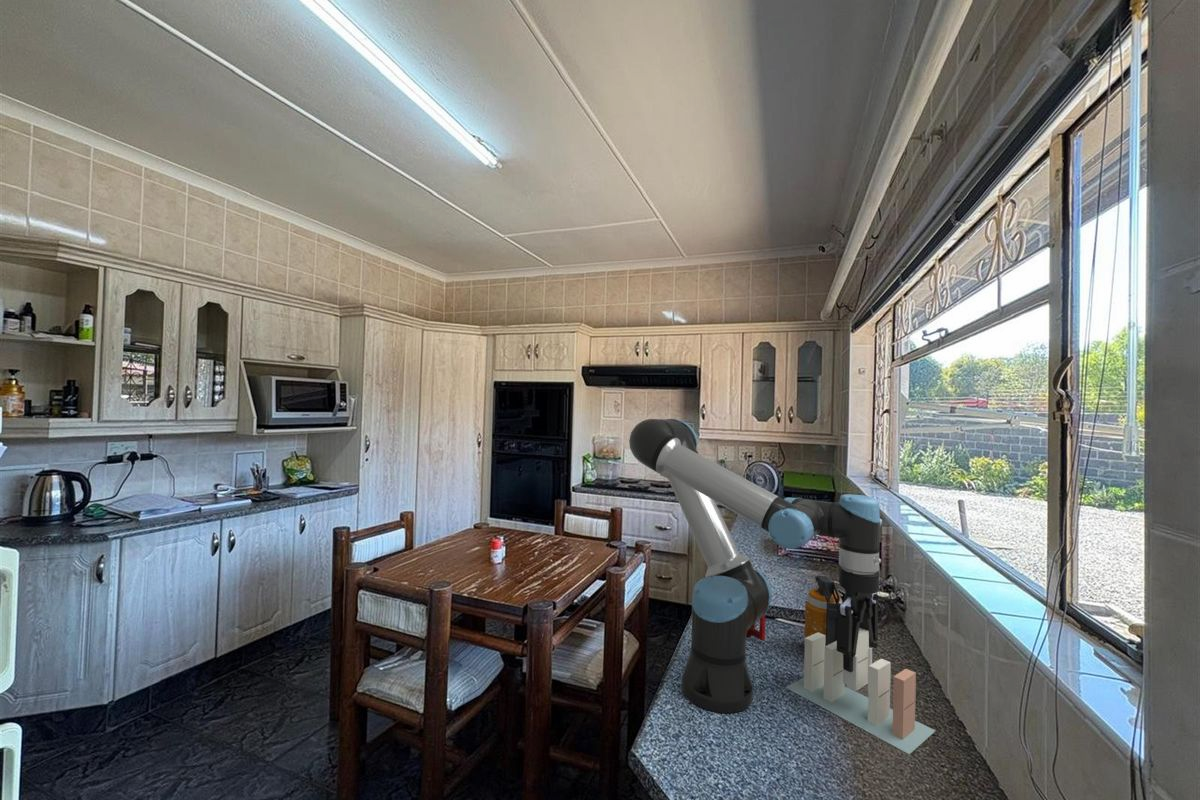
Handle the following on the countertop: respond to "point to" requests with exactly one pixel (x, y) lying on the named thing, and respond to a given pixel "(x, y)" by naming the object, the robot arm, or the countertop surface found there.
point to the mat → (863, 716)
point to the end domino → (904, 703)
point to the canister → (822, 610)
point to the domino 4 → (879, 692)
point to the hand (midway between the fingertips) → (857, 681)
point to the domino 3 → (862, 658)
